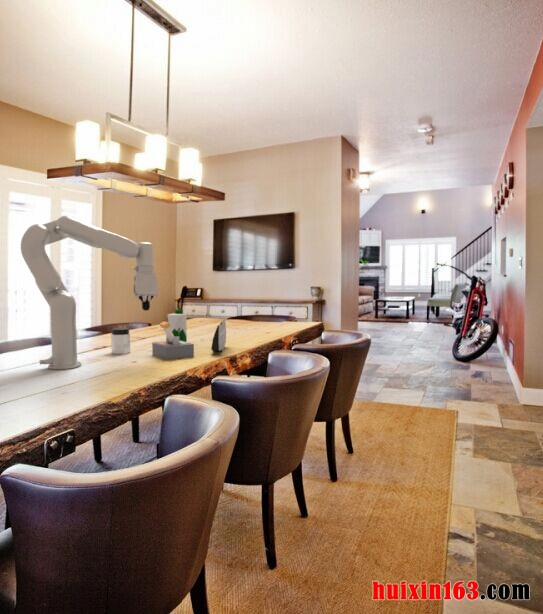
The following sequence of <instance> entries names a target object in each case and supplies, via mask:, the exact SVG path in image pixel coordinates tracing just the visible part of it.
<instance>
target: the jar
mask: <svg viewBox="0 0 543 614" xmlns="http://www.w3.org/2000/svg"><path fill="white" fill-rule="evenodd" d="M110 335H111V336H110V339H111V353H112V354H114V355H125V354H129V353H131V334H130V328H128V327H116V328H111V334H110Z"/></svg>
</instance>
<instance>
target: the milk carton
mask: <svg viewBox="0 0 543 614" xmlns="http://www.w3.org/2000/svg"><path fill="white" fill-rule="evenodd" d="M183 310H184V309H175V310H174V312H173V313H169V314H167V315H166V316H167V322H169V324H170V329H171V331H172V333H173V335H174V337H179V340H180V341H184V342H188V340H187V339H188V337H187V317H188V316H187V315H188V314H187V313H184V311H183Z"/></svg>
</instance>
